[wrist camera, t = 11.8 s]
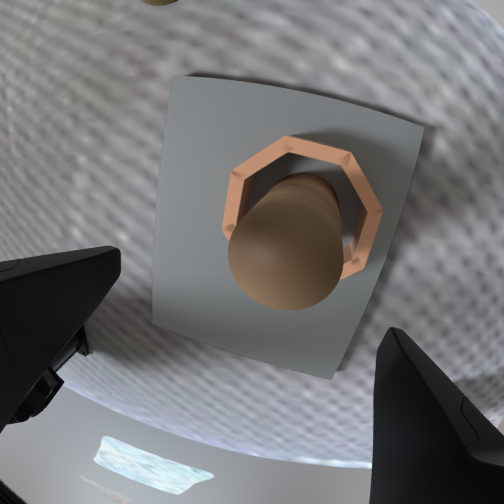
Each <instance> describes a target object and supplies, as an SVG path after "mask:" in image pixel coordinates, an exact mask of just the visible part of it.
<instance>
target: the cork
mask: <svg viewBox="0 0 504 504" xmlns="http://www.w3.org/2000/svg"><path fill="white" fill-rule="evenodd" d="M142 1H143V2H145V3H147V4H150V5H153V6H156V5H166V4H170V3H173V2H176V1H178V0H142Z"/></svg>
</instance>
